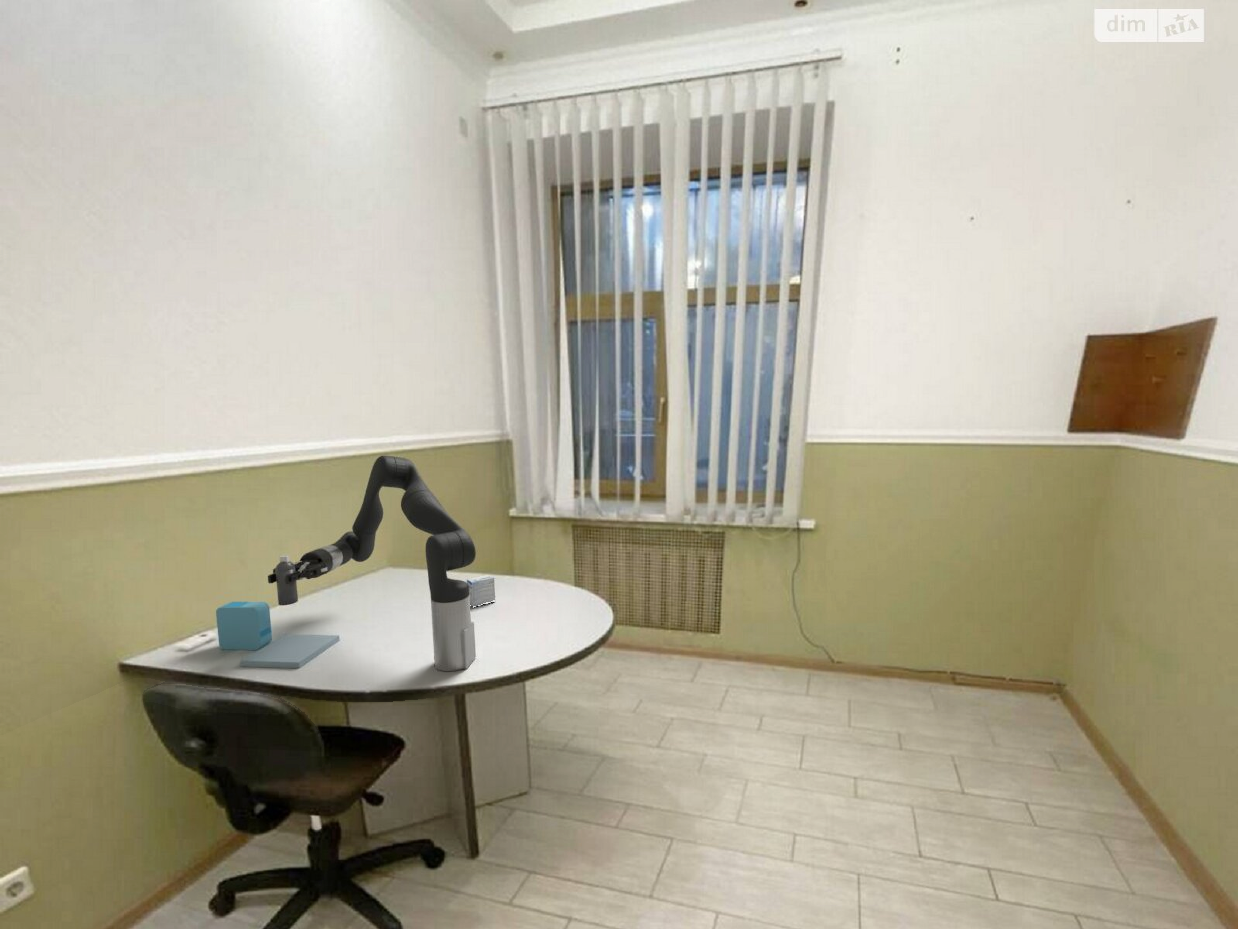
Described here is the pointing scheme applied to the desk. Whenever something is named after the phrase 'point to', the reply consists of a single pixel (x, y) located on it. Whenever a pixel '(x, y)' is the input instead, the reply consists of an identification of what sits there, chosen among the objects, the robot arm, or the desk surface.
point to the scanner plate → (290, 651)
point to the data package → (244, 625)
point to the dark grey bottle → (284, 590)
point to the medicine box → (481, 590)
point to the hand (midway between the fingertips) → (278, 579)
